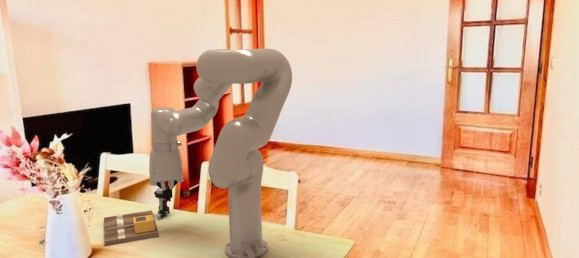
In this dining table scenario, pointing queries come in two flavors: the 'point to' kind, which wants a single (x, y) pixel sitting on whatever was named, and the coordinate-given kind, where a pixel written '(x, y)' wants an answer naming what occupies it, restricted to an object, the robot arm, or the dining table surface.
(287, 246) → the dining table surface
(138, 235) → the board
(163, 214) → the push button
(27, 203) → the dining table surface
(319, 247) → the dining table surface
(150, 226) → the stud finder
